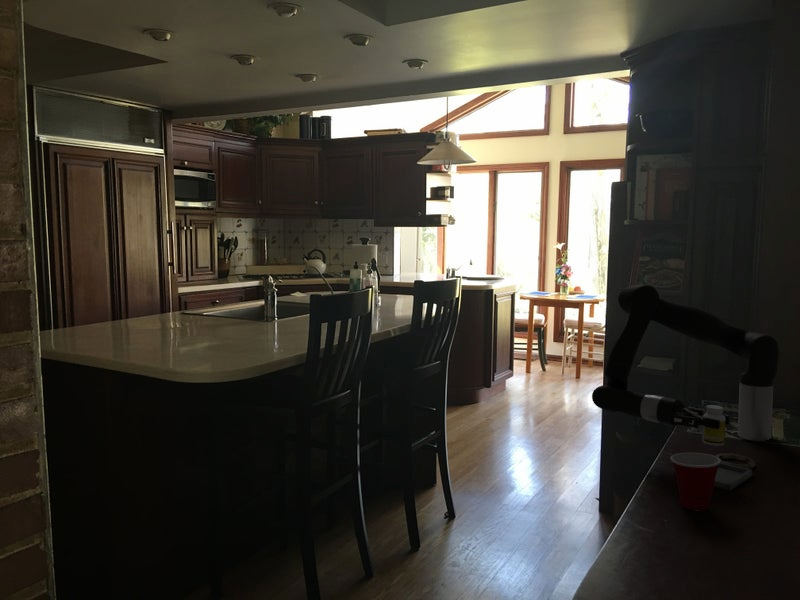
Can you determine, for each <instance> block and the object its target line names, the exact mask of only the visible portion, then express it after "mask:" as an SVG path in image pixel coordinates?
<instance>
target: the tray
mask: <svg viewBox="0 0 800 600" xmlns="http://www.w3.org/2000/svg"><path fill="white" fill-rule="evenodd" d="M674 475H675V476H676V472H675V469H674V471H673V476H674ZM675 476H674V477H675ZM752 477H753V469H746V468H742V467H737V466H733V465H729V464H725V463H721V462H720V464H719V466H718V469H717V474H716V477H715V482H714V487H713V488H715V487H717V488H716V489H719V488H720V489H719V490H723V489H724V491H727V490H728V492H730V491H732V490H733V489H735V488H736V487H738V486H739V485H741V484H743V483H744V482H746V481H747V480H749V479H750V478H752Z"/></svg>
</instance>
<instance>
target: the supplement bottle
mask: <svg viewBox="0 0 800 600" xmlns="http://www.w3.org/2000/svg"><path fill="white" fill-rule="evenodd" d="M705 408H706V411H707V413H705V414H704V415H703V417H704V419H705V418H710V419H715V420H719V421H720V428H719V429H714V428H710V427H705V426H704V427H701V428H702V429H701V430H702V432H701V442H702V443H703V444H706V445H709V446H716V447H719V446H724V445H725V442H726V441H725V440H726V439H725V437H726V424H725V423H726V418H725V416H723V415H724V414H723V413H724V407H723V406H720V405H715V404H710V405H709V404H707V405H706V407H705Z"/></svg>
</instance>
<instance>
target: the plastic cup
mask: <svg viewBox="0 0 800 600" xmlns="http://www.w3.org/2000/svg"><path fill="white" fill-rule="evenodd" d="M669 459H670V461H671V462H672V465H673V468H674V470H675V472H676V477H675V478H676V483H677V489H678V492H679V500H680V504H681V506H682V505H683V506H685V507H686V508H689V509H692V510H699V511H703V512H706V511H705V510H707V509H708V510H709V507H710V503H711V499H712V495H713V491H714V488H715V487H714V482H715V477H716V474H717V469H718V466H719V464H720V462H721V460H722V459H721V460H720V459H719V458H718V457H716V455H713V454H708V453H703V452H681V453H680V452H679V453H675V454H671V456H670V457H669ZM683 506H682V507H683ZM708 510H707V511H708Z"/></svg>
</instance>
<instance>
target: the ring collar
mask: <svg viewBox="0 0 800 600" xmlns="http://www.w3.org/2000/svg"><path fill="white" fill-rule="evenodd" d="M715 456H716V457H718V458H719V459H720V460H721V463H725V464H729V465H733V466H737V467H742V468H746V469H750V470H753V468H754V467H756V461H755V460H753V459H752V458H751V457H749V456H747V455H742V454H741V455H740V454H738V453H718V454H716V455H715ZM723 459H724V460H738V461H742V462H745V463H732V462H728V461H724V460H723Z"/></svg>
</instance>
